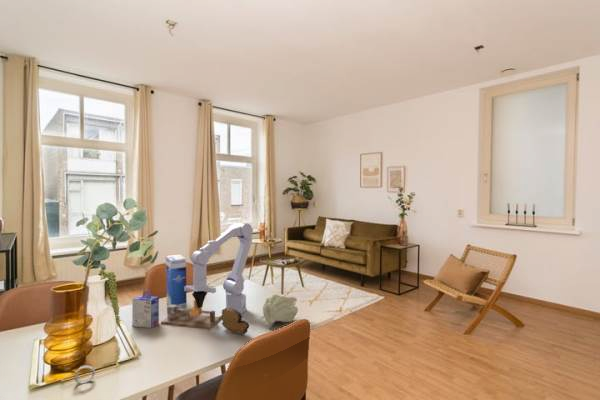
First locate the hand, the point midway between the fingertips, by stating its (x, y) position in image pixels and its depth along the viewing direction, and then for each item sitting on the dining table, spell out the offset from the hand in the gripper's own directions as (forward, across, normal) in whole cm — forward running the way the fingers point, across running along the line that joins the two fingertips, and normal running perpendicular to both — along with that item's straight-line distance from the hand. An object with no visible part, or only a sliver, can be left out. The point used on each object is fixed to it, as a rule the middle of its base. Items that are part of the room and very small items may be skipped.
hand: (200, 307), depth 137 cm
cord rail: (+7, -4, 0) cm, 8 cm away
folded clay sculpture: (+7, +35, +8) cm, 36 cm away
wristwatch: (+7, -14, -46) cm, 48 cm away
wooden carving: (+7, +18, -5) cm, 21 cm away
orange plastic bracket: (+3, -2, 0) cm, 4 cm away
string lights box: (+7, -21, +14) cm, 27 cm away
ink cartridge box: (+7, -22, -7) cm, 25 cm away
